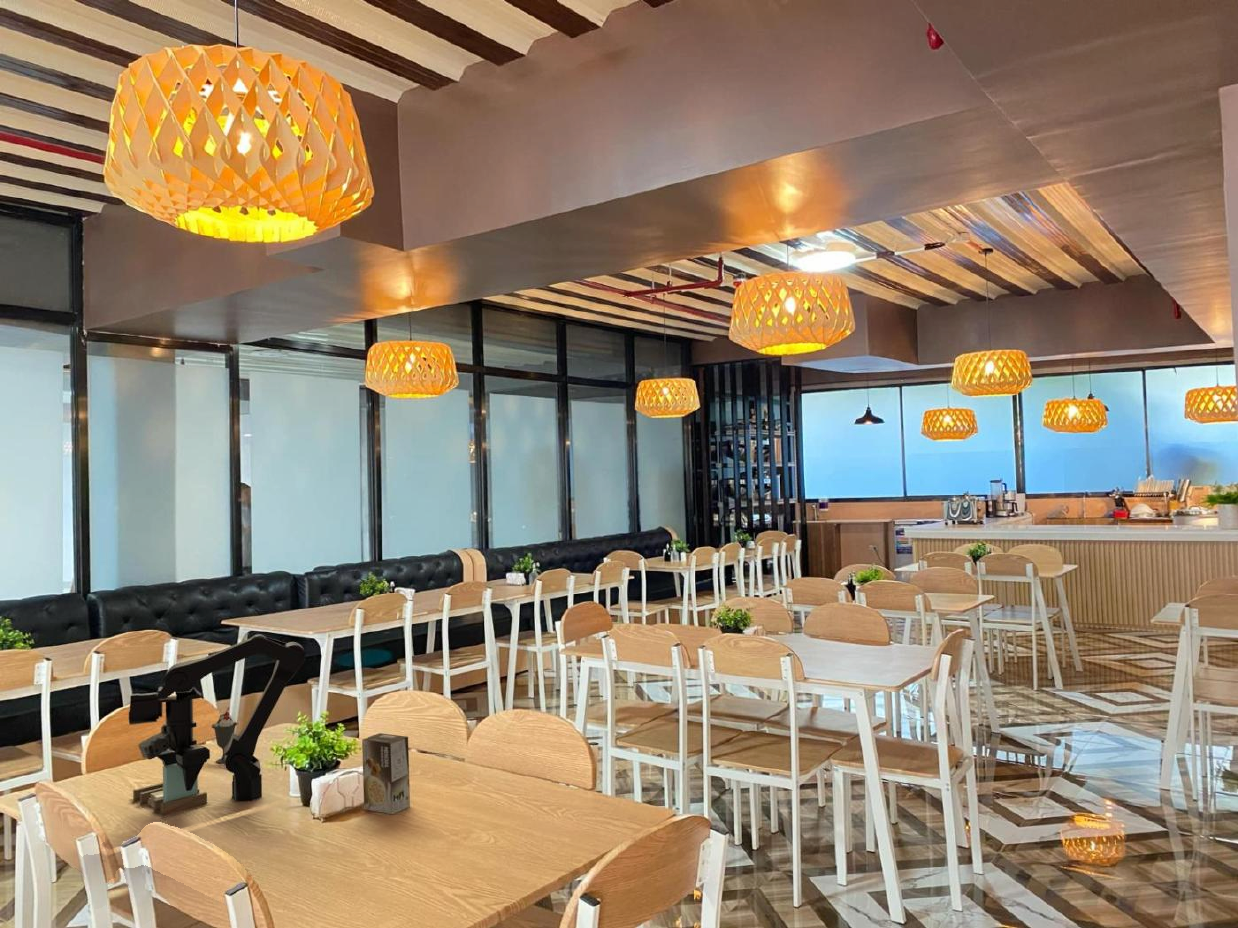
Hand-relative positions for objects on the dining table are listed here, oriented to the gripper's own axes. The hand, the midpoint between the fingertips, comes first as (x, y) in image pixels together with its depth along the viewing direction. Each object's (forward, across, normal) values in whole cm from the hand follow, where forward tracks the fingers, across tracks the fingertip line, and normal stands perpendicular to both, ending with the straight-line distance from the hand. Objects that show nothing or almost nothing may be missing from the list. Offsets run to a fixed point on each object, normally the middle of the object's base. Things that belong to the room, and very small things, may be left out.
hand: (180, 786), depth 208 cm
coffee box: (+6, +38, +31) cm, 49 cm away
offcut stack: (+5, -6, 0) cm, 8 cm away
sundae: (+6, -32, +26) cm, 42 cm away
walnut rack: (+6, -6, 0) cm, 8 cm away
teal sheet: (+5, 0, 0) cm, 5 cm away
